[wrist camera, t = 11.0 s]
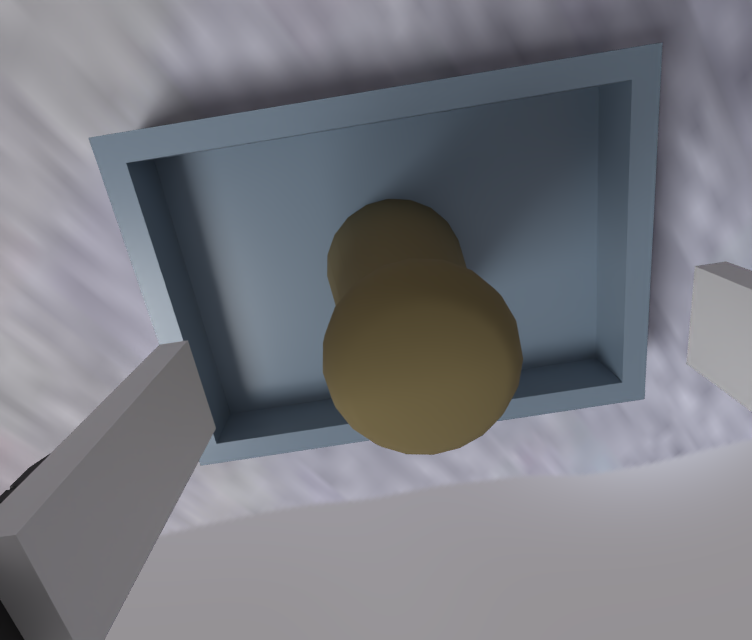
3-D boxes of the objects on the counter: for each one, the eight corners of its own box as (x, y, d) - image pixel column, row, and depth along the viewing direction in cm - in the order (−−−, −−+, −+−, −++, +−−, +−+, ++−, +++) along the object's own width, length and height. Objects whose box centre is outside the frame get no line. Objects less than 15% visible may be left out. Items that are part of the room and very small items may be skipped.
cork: (489, 271, 22) (610, 392, 11) (389, 355, 23) (415, 532, 13) (401, 167, 20) (448, 199, 10) (297, 264, 21) (243, 383, 11)
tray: (612, 58, 20) (662, 42, 16) (606, 364, 25) (644, 399, 21) (132, 137, 20) (88, 137, 17) (221, 422, 25) (200, 465, 22)
